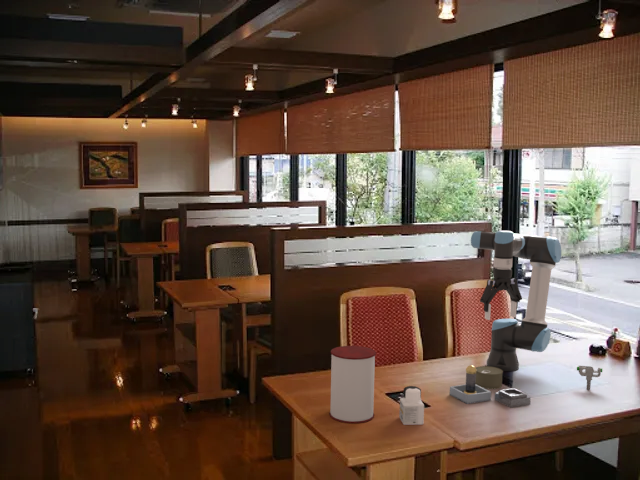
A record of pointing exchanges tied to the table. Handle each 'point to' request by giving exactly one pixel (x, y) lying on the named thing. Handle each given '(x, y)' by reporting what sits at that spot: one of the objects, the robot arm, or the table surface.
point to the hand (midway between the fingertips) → (500, 318)
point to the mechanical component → (588, 373)
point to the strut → (470, 380)
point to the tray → (471, 398)
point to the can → (489, 377)
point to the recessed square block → (512, 397)
